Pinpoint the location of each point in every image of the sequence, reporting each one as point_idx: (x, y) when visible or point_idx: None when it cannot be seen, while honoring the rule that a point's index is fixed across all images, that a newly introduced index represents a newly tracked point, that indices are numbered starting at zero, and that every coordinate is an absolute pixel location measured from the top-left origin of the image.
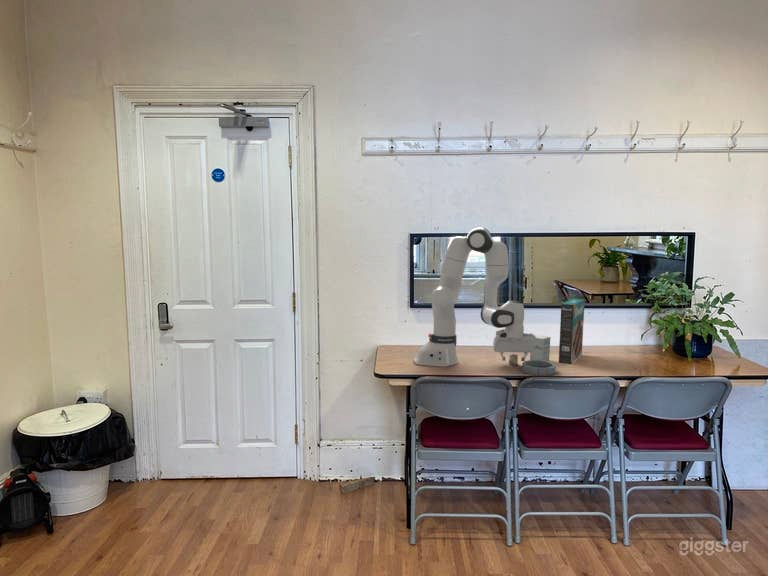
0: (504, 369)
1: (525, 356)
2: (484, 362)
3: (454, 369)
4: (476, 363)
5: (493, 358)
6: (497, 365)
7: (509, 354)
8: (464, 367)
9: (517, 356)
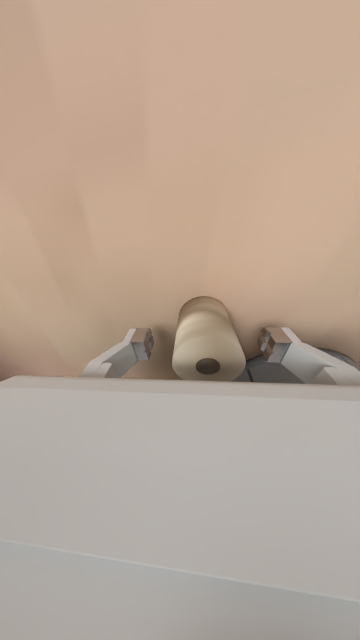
0: (155, 375)
1: (300, 373)
2: (38, 285)
3: (4, 377)
4: (13, 309)
5: (31, 102)
6: (122, 333)
7: (175, 354)
8: (14, 361)
9: (233, 373)
